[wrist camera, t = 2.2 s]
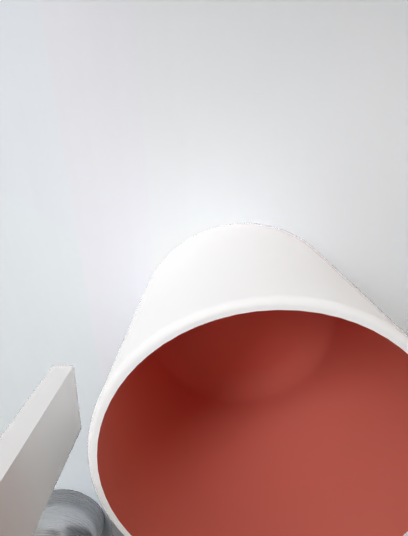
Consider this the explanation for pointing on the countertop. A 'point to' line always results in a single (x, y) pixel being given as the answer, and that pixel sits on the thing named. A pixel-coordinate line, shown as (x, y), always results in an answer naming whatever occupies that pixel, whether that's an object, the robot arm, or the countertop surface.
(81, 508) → the cylinder
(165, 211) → the countertop surface
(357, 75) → the countertop surface
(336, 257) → the countertop surface
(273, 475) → the cup
